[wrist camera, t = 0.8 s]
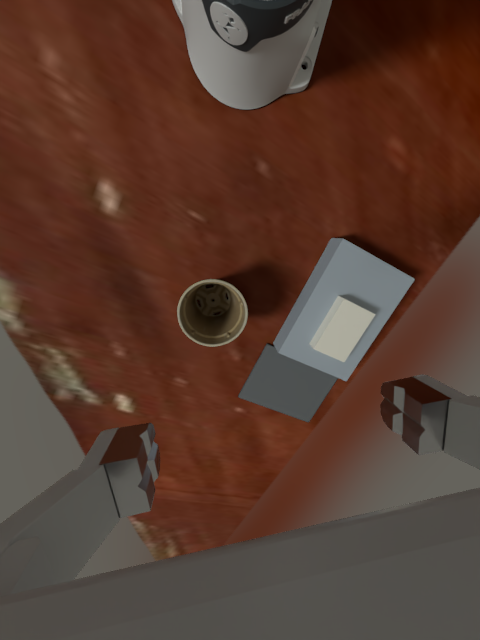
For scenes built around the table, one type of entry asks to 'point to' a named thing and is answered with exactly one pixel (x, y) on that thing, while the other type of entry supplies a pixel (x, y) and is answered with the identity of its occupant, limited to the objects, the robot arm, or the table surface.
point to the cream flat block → (341, 329)
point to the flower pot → (212, 313)
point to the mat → (286, 385)
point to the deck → (351, 284)
